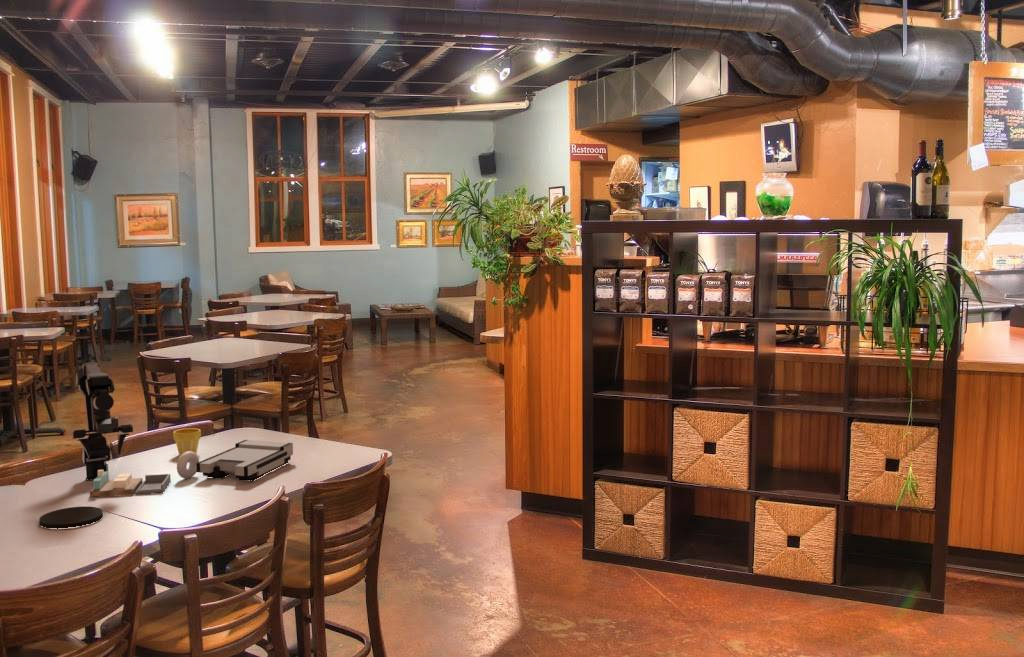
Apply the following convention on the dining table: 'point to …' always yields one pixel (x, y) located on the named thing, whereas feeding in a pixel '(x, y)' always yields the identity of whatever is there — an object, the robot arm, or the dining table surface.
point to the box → (154, 484)
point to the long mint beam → (100, 479)
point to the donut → (182, 464)
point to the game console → (247, 460)
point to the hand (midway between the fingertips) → (104, 456)
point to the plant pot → (187, 439)
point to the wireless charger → (71, 517)
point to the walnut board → (117, 489)
